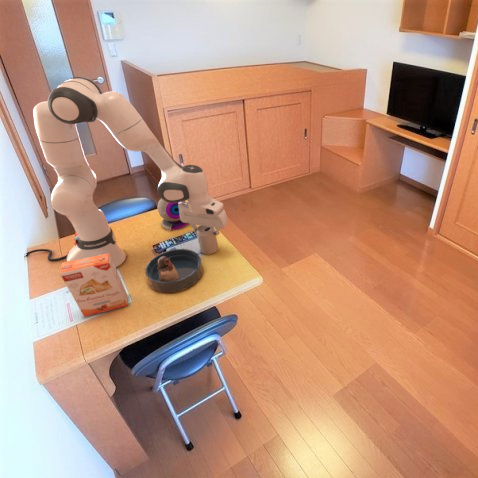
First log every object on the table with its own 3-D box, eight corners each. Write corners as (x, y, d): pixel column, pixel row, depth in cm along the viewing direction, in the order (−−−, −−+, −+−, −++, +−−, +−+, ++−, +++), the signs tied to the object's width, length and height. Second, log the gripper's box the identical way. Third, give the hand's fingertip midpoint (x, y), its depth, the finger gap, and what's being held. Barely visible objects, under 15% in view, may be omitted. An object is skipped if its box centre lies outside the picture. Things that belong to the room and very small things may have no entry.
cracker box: (84, 318, 122) (58, 273, 109) (85, 306, 126) (61, 261, 114) (128, 306, 126) (108, 262, 114) (128, 295, 131) (109, 251, 118)
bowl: (148, 299, 130) (144, 288, 126) (150, 264, 145) (146, 254, 142) (205, 286, 135) (202, 276, 132) (201, 255, 151) (198, 244, 147)
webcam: (168, 233, 163) (160, 205, 154) (158, 221, 171) (149, 194, 162) (195, 223, 170) (188, 196, 161) (184, 212, 177) (177, 186, 169)
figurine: (170, 272, 140) (162, 249, 133) (184, 278, 138) (177, 254, 131) (156, 284, 135) (148, 260, 128) (170, 289, 133) (162, 265, 126)
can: (213, 256, 150) (209, 233, 143) (197, 254, 151) (192, 231, 144) (221, 246, 156) (217, 223, 149) (205, 244, 157) (200, 221, 150)
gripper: (172, 205, 139) (180, 233, 148) (219, 212, 135) (225, 240, 144) (181, 197, 144) (188, 225, 153) (227, 204, 140) (232, 232, 148)
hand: (206, 232), depth 148 cm, fingers open, 8 cm apart
